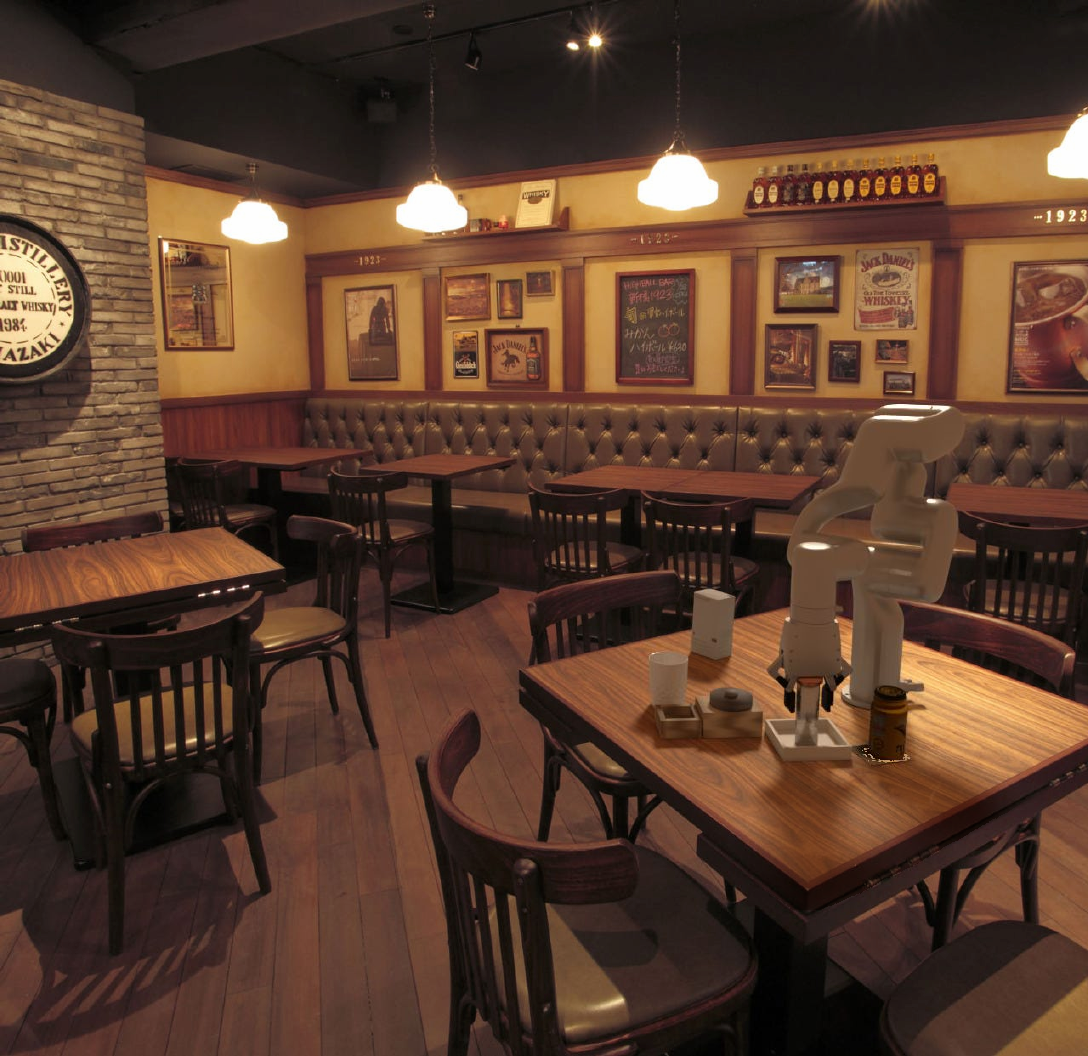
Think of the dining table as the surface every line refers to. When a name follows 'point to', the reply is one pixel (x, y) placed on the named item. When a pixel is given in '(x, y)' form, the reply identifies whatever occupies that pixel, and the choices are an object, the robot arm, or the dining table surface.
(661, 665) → the white cup
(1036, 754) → the dining table surface
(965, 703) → the dining table surface
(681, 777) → the dining table surface
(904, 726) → the condiment
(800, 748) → the tray
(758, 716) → the wooden condiment holder
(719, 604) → the skincare box
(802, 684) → the glass shaker
